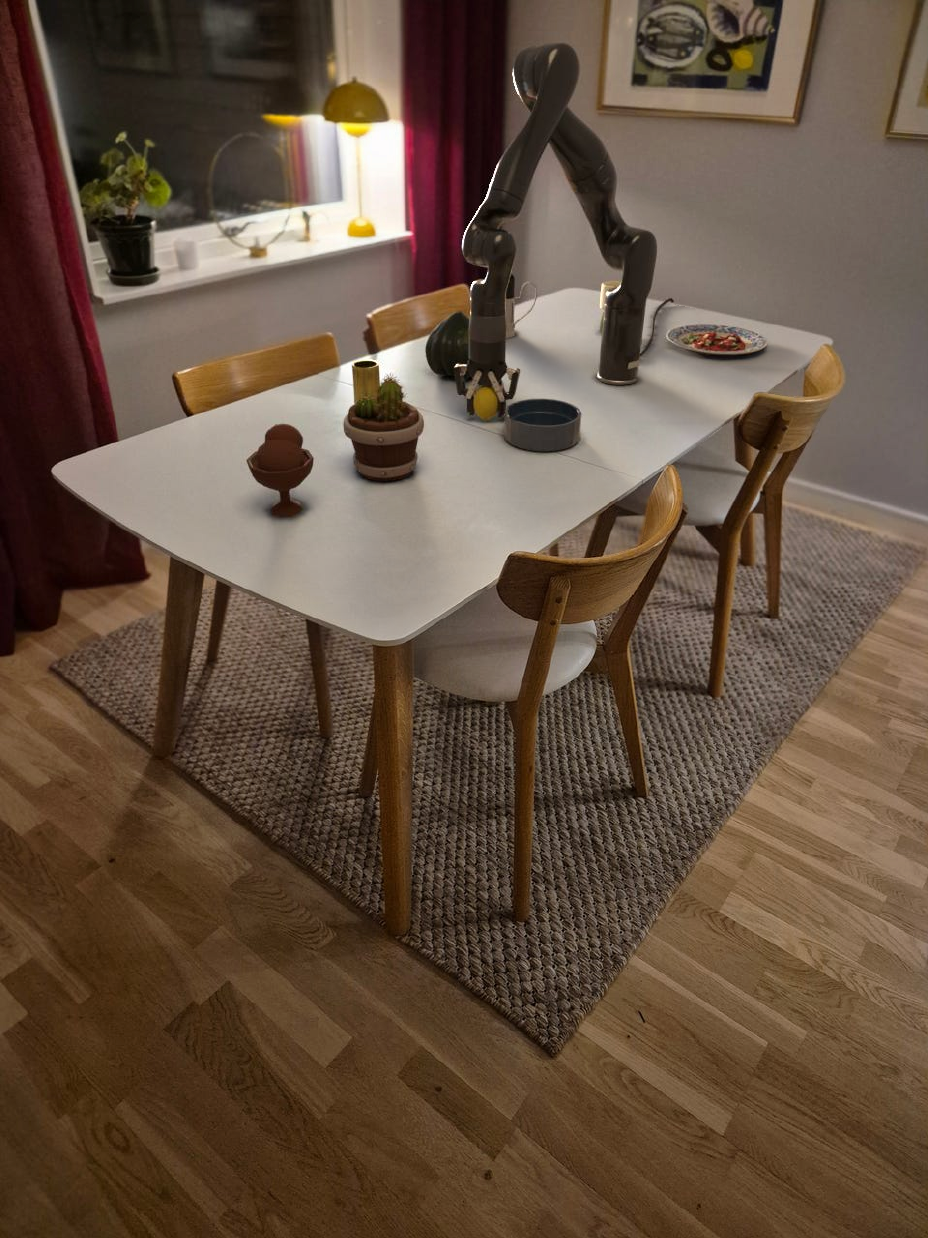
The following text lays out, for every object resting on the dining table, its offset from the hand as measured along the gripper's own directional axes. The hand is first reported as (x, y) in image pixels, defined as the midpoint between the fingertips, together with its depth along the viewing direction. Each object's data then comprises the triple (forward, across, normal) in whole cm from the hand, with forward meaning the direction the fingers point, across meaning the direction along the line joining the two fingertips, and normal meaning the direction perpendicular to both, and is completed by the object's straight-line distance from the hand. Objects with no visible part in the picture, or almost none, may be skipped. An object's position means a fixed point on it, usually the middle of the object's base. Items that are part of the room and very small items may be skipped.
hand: (486, 415), depth 178 cm
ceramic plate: (+1, -48, -65) cm, 81 cm away
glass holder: (+1, +7, -63) cm, 63 cm away
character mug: (+1, -20, -70) cm, 73 cm away
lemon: (+1, 0, 0) cm, 1 cm away
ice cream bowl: (+1, +25, +48) cm, 54 cm away
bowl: (+1, -13, +6) cm, 15 cm away
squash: (+1, +13, -27) cm, 30 cm away
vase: (+1, +22, +12) cm, 25 cm away
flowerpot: (+1, +13, +29) cm, 32 cm away
